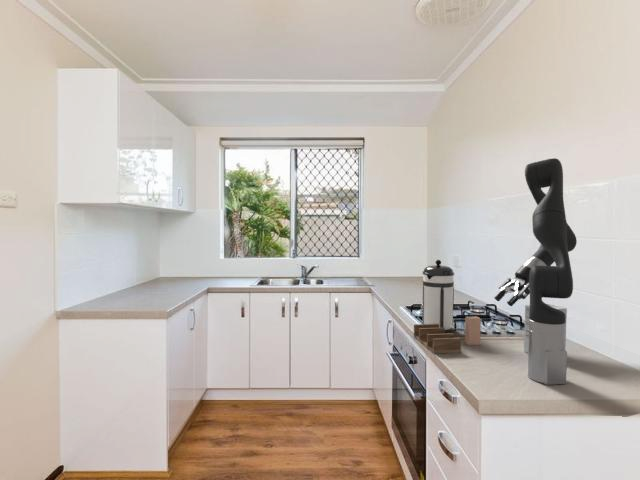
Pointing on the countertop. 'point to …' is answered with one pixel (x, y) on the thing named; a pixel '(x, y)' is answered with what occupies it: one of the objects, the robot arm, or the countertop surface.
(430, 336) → the drying rack
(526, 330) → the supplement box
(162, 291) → the countertop surface
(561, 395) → the countertop surface
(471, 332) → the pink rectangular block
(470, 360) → the countertop surface
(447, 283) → the coffee press
